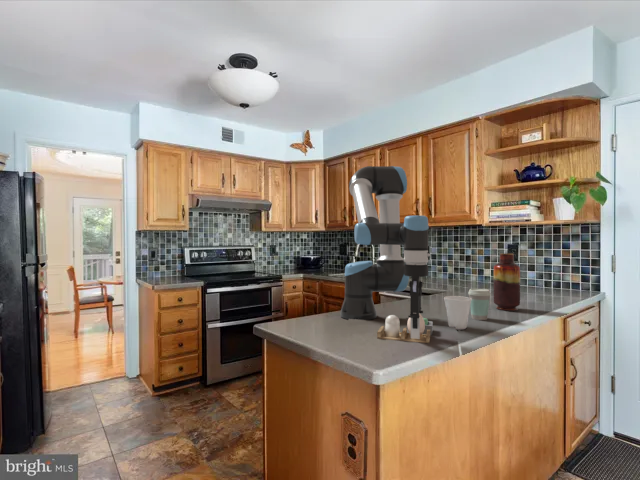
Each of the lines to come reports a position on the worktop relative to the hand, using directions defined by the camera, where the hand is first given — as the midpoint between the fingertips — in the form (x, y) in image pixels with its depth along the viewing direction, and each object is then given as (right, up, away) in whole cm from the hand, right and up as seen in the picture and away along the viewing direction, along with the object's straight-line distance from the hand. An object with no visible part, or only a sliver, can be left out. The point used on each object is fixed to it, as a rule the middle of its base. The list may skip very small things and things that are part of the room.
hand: (415, 335), depth 114 cm
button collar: (+4, -2, +8) cm, 9 cm away
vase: (+57, -2, +53) cm, 77 cm away
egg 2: (0, -1, 0) cm, 1 cm away
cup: (+20, -2, +18) cm, 27 cm away
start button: (+4, -1, +8) cm, 9 cm away
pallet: (-3, -2, +1) cm, 4 cm away
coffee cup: (+35, -2, +33) cm, 48 cm away
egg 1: (-7, -1, +2) cm, 8 cm away
